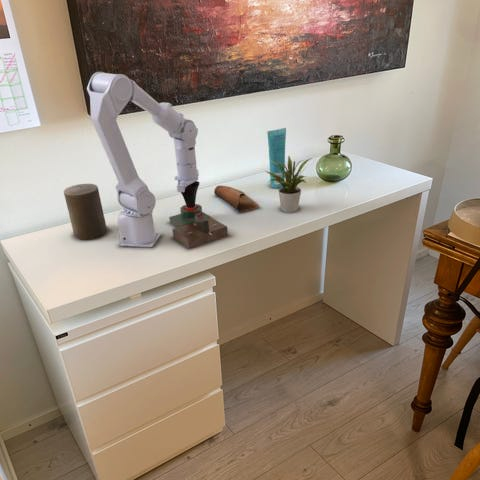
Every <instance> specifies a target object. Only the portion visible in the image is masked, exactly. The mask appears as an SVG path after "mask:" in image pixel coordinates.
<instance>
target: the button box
mask: <svg viewBox="0 0 480 480" xmlns="http://www.w3.org/2000/svg"><path fill="white" fill-rule="evenodd" d="M195 205H196V206H197V209H196V210H190V211H189V210H185V206H186V204H183V205H182V206H181V207H180V208H179V209H180V210H179V212H180V213H178V214H175V215H171V216H169V217H168V218H169V223H170V224H171V225H172V226H174V228H177V227H180V226H183V225H187V224H190V223H193V222H195V214H199V213H200V214H201V215H202V216H203V217H205V218H210V217H211V215H209V214H207V213H206V212H204V211H203V206H202V205H201V204H199V203H195ZM211 218H212V217H211Z"/></svg>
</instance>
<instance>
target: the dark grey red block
mask: <svg viewBox="0 0 480 480" xmlns="http://www.w3.org/2000/svg"><path fill="white" fill-rule="evenodd" d="M195 223H196V227H197V228H198V229H200V230H201V231H202V232H204V233H206V232H209V223H208V220H207V219H206V218H205V217H203V216H202V215H201V214H200V213H199V214H195Z"/></svg>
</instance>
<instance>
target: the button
mask: <svg viewBox="0 0 480 480" xmlns="http://www.w3.org/2000/svg"><path fill="white" fill-rule="evenodd" d="M196 209H197V206H196V205H195V206H194V208H187V206H185V210H189V211H190V210H196Z"/></svg>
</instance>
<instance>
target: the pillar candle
mask: <svg viewBox="0 0 480 480" xmlns="http://www.w3.org/2000/svg"><path fill="white" fill-rule="evenodd" d="M63 196H64V199H65V203H66V207H67V211H68V216H69V220H70V224H71V228H72V232H73V236H74V237H75V238H76V239H79V240H82V241H87V240H90V241H91V240H94V239H95V240H96V239H100V238H102V237H103V236H104V235H106V234H107V233H108V228H107V223H106V219H105V214H104V210H103V205H102V200H101V195H100V191H99V186H98V185H97V184H94V183H79V184H74V185H71V186H68V187H66V188H65V189H64V190H63Z"/></svg>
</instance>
